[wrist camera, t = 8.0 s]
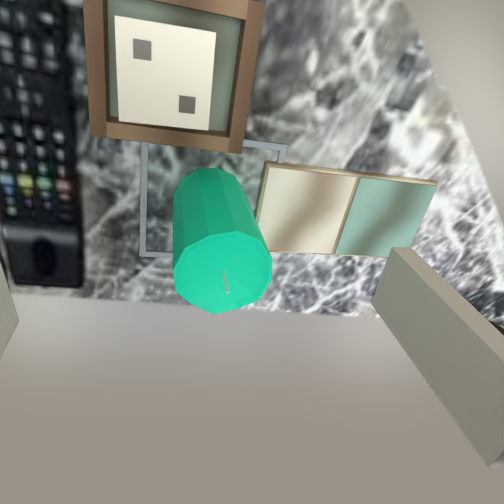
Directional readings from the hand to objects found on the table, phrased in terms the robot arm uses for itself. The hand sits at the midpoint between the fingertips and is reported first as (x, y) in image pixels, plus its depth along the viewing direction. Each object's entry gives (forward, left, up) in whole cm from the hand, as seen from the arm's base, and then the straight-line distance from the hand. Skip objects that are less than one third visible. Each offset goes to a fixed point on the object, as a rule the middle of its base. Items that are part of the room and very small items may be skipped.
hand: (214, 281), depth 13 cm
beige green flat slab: (+14, -5, -17) cm, 23 cm away
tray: (-2, +5, -17) cm, 18 cm away
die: (-2, +5, -17) cm, 18 cm away
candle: (+2, -5, -18) cm, 18 cm away
